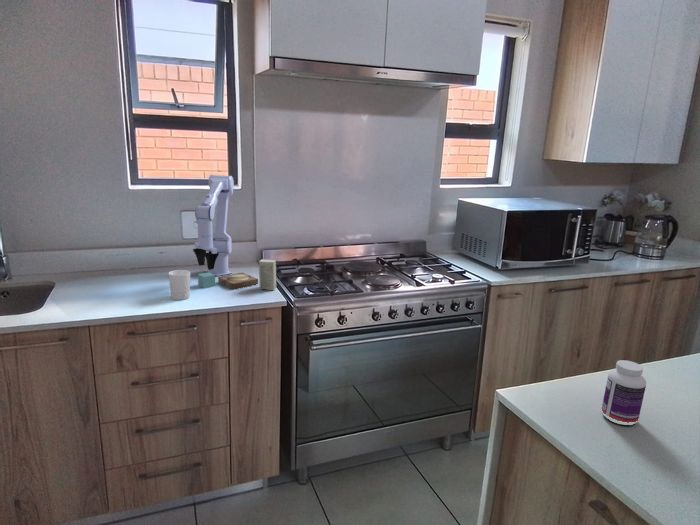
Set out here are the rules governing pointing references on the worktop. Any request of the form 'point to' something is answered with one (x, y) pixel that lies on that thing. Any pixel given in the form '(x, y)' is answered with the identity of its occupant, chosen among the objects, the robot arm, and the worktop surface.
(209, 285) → the teal block
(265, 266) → the skincare box
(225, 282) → the walnut plinth
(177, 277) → the white cup
